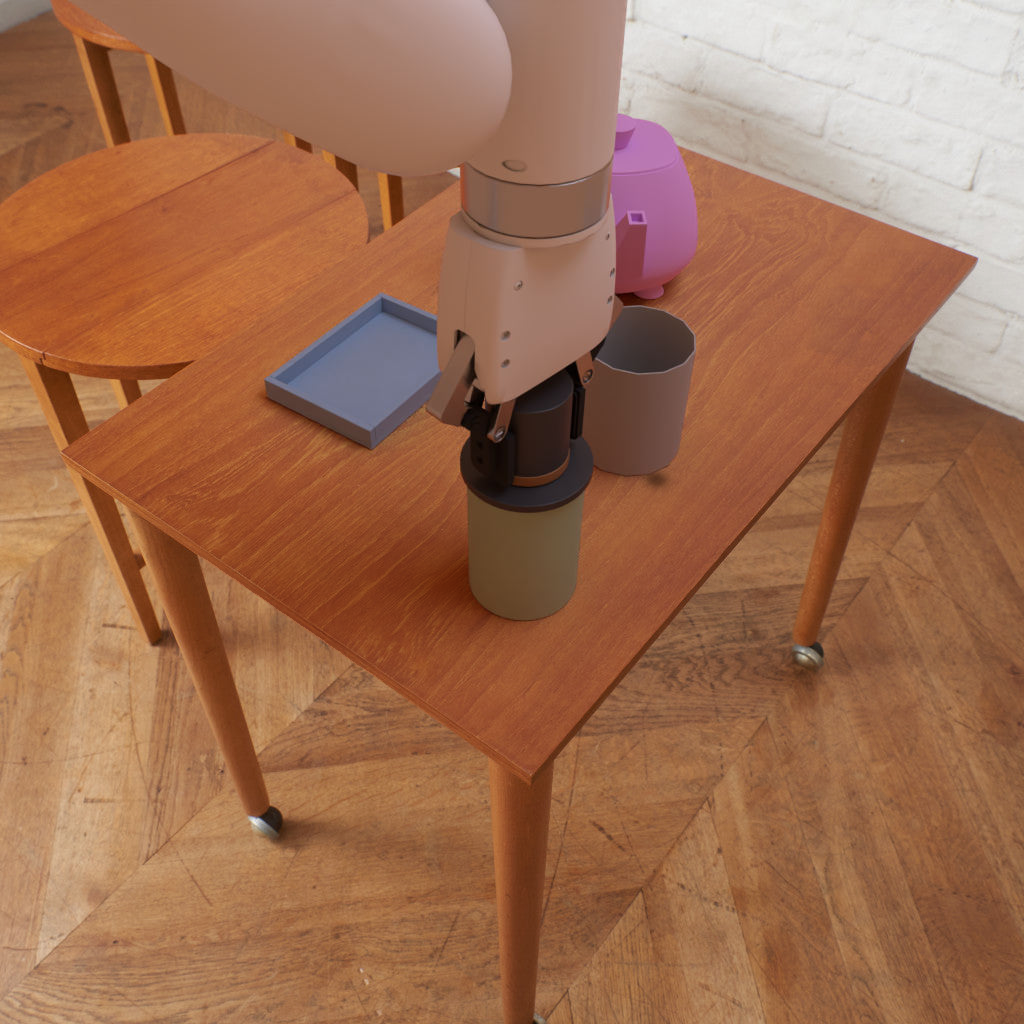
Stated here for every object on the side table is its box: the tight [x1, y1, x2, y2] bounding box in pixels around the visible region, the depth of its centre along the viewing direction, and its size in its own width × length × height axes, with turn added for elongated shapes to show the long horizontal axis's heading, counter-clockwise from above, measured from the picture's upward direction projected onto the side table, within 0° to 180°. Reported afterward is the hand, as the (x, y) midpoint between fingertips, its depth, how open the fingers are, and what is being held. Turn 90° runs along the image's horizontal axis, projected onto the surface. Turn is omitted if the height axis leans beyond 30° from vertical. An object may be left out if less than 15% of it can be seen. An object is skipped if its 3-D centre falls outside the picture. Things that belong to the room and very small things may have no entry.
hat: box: [459, 368, 595, 513], centre depth 64 cm, size 8×8×7 cm
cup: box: [581, 304, 697, 477], centre depth 81 cm, size 8×8×10 cm
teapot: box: [610, 113, 699, 300], centre depth 94 cm, size 20×20×15 cm
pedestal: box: [466, 486, 586, 621], centre depth 70 cm, size 8×8×11 cm
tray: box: [263, 292, 443, 450], centre depth 89 cm, size 15×11×2 cm
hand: (527, 448), depth 65 cm, fingers closed on hat, 5 cm apart
